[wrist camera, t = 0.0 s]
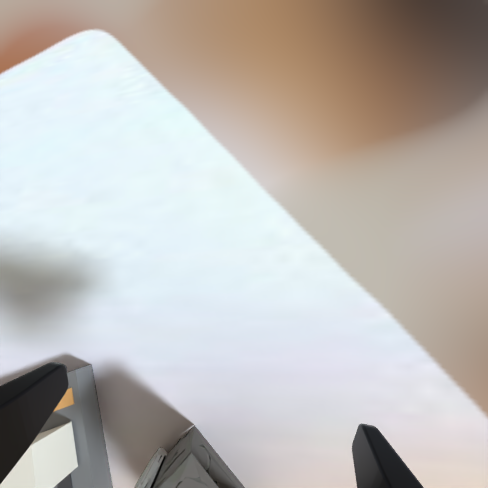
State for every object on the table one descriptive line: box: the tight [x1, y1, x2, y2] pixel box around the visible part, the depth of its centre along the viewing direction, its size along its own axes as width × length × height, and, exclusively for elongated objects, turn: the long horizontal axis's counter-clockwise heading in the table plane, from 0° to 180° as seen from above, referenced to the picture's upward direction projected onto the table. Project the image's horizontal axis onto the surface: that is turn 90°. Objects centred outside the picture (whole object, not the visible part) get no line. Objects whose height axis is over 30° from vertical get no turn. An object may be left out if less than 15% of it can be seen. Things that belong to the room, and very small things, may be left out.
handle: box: [0, 421, 78, 488], centre depth 17 cm, size 3×2×4 cm
